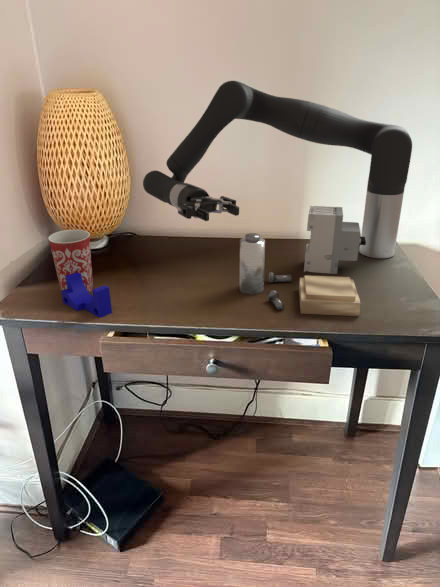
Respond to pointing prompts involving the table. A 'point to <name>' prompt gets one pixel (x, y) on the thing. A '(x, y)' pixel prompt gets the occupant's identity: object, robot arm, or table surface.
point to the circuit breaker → (330, 240)
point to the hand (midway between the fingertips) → (223, 214)
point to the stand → (328, 296)
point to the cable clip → (86, 296)
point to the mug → (72, 256)
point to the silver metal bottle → (252, 264)
